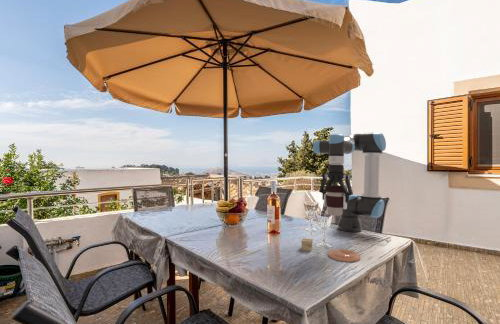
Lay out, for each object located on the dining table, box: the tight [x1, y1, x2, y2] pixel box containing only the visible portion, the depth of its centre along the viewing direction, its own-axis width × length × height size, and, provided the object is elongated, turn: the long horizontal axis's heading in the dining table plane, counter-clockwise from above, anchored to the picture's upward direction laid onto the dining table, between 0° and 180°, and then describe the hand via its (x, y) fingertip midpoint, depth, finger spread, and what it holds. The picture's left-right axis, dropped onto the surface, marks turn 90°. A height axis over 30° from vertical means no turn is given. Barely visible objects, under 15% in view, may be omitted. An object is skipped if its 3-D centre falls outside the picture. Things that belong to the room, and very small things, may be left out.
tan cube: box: [300, 237, 313, 252], centre depth 145 cm, size 5×5×5 cm
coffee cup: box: [326, 184, 345, 217], centre depth 143 cm, size 10×10×15 cm
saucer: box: [327, 248, 362, 263], centre depth 135 cm, size 15×15×1 cm
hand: (335, 207), depth 143 cm, fingers closed on coffee cup, 10 cm apart
